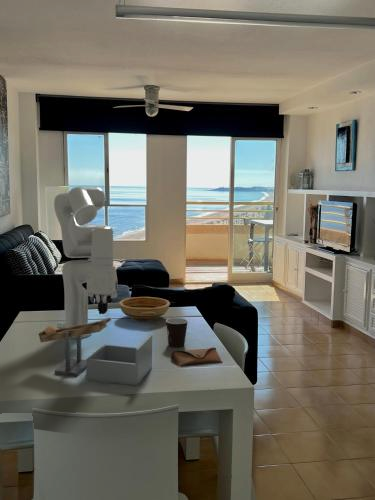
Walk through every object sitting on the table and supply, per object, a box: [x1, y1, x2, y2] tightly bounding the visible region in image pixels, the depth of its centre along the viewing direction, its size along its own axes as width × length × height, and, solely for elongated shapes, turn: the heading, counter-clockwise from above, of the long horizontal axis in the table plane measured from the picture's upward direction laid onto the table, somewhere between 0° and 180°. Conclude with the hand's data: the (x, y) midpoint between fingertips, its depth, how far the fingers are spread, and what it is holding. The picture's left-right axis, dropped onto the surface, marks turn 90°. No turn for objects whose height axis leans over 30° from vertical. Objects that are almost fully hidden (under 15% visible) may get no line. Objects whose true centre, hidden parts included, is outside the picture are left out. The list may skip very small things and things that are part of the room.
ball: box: [44, 325, 57, 335], centre depth 167 cm, size 4×4×4 cm
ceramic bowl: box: [118, 296, 171, 323], centre depth 231 cm, size 30×24×8 cm
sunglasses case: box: [170, 347, 223, 368], centre depth 178 cm, size 18×7×7 cm
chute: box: [38, 317, 112, 343], centre depth 170 cm, size 22×17×3 cm
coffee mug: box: [165, 317, 188, 349], centre depth 195 cm, size 12×9×10 cm
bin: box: [85, 334, 153, 387], centre depth 163 cm, size 18×16×12 cm
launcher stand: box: [54, 325, 86, 377], centre depth 166 cm, size 8×12×14 cm, turn 167°
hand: (102, 313), depth 171 cm, fingers closed
